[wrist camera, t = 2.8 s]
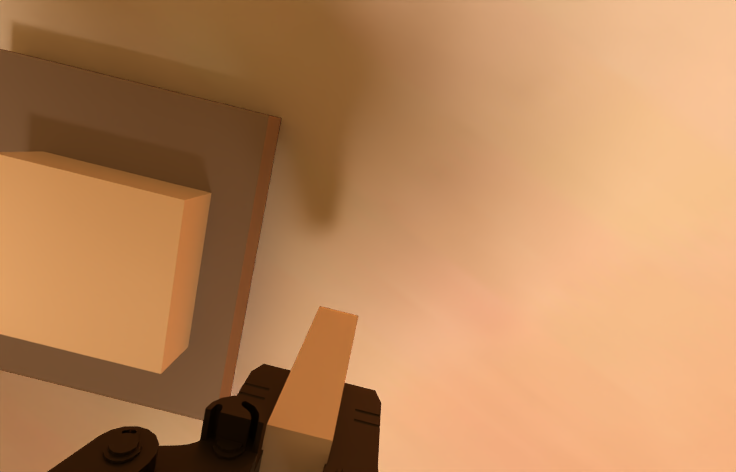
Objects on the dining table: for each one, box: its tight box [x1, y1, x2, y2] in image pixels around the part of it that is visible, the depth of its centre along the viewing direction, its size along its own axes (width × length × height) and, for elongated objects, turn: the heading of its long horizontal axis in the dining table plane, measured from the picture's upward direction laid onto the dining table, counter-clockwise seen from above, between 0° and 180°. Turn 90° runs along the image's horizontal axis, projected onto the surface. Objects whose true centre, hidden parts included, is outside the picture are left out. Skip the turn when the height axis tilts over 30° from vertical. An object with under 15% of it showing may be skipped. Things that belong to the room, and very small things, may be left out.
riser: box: [0, 49, 281, 420], centre depth 21 cm, size 16×13×2 cm
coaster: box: [0, 151, 211, 374], centre depth 19 cm, size 8×8×2 cm
